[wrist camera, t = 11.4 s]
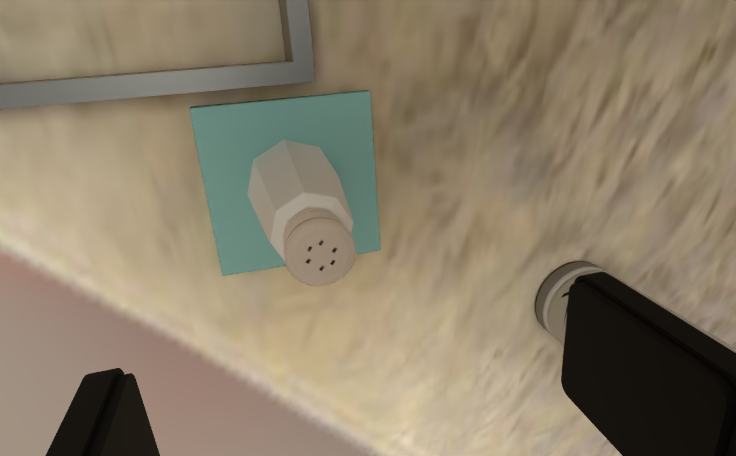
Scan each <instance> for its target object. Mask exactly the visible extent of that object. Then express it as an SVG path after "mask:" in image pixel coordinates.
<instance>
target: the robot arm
mask: <svg viewBox="0 0 736 456" xmlns="http://www.w3.org/2000/svg"><path fill="white" fill-rule="evenodd" d="M561 382H562V387H563V389H564V391H565V393H566V395H567V396H568V397H569V398H570V399H571V400H572V402H573V403H574V404H575V405H576V406H577V407H578V408H579V409H580V410H581V411H582V412H583V413H584V414H585V416H586V417H587V418H588V419H589V420H590V421H591V422H592V423H593V424H594V425H595V426H596V427H597V429H598V430H599V431H600V432H601V433H602V434H603V435H604V436H605V437H606V438H607V439H608V440H609V441H610V443H611V444H612V445H613V446H614V447H615V448H616V449H617V450H618V451H619V452H620V453H621V454H622V456H736V353H735V352H733V351H732V350H730V349H729V348H727V347H725V346H724V345H722V344H721V343H719V342H717V341H716V340H714V339H713V338H711V337H709V336H708V335H706V334H705V333H703V332H701V331H700V330H698V329H697V328H695V327H693V326H692V325H690V324H688V323H687V322H685V321H684V320H682V319H680V318H679V317H677V316H676V315H674V314H672V313H671V312H669V311H668V310H666V309H664V308H663V307H661V306H660V305H658V304H656V303H655V302H653V301H651V300H650V299H648V298H647V297H645V296H643V295H642V294H640V293H639V292H637V291H635V290H634V289H632V288H631V287H629V286H627V285H626V284H624V283H623V282H621V281H619V280H618V279H616V278H615V277H613V276H611V275H610V274H608V273H606V272H596V273H591V274H586V275H581V276H578V277H577V278H576V279H575V281H574V284H572V285H571V286H570V288H569V295H568V307H567V318H566V330H565V341H564V353H563V365H562V376H561ZM46 456H160V454H159V451H158V448H157V445H156V442H155V438H154V435H153V432H152V429H151V426H150V423H149V420H148V416H147V413H146V410H145V407H144V404H143V401H142V398H141V394H140V391H139V388H138V385H137V382H136V379H135V377H134V375H133V374H131V373H130V374H125V375H124V372H123V371H122V370H121V369H120V368H116V369H111V370H106V371H101V372H96V373H91V374H88V375H85V377H84V378H83V380H82V382H81V384H80V386H79V388H78V390H77V392H76V394H75V397H74V398H73V400H72V402H71V405H70V407H69V409H68V411H67V413H66V415H65V417H64V419H63V421H62V423H61V425H60V427H59V429H58V431H57V433H56V436H55V437H54V440H53V442H52V444H51V446H50V448H49V450H48V452H47V454H46Z"/></svg>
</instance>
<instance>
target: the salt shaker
mask: <svg viewBox="0 0 736 456" xmlns="http://www.w3.org/2000/svg"><path fill="white" fill-rule="evenodd" d="M247 195H248V197H249V199H250V202H251V204H252V206H253V208H254V210H255V213H256V215H257V217H258V219H259V221H260V223H261V226H262V228H263V230H264V232H265V234H266V236H267V238H268V240H269V241H270V243H271V244H272V246H273V247H274V248H275V250H276V251H277V252H278V253H279V255H280V256H281V257H282V259H283V260H284V261H285V264H286V266H287V269H288V271H289V272H290V273H291V274H292V276H293V277H294V278H296V279H297V280H298V281H300V282H302V283H305V284H307V285H313V286H322V285H328V284H331V283H333V282H336V281H337V280H339V279H340V278H342V277H343V276H344V275H345V274H346V273H347V272H348V271H349V270H350V268H351V266H352V264H353V262H354V259H355V255H356V245H355V242H354V239H353V236H352V235H351V231H352V226H353V219H352V215H351V212H350V209H349V206H348V203H347V200H346V197H345V194H344V191H343V188H342V185H341V182H340V179H339V176H338V174H337V173H336V171H335V170H334V168H333V167H332V165H331V164H330V162H329V161H328V159H327V158H326V156H325V155H324V153H323V152H322V150H321V148H320V147H318V146H313V145H308V144H303V143H298V142H294V141H289V140H282V141H281V142H279V143H278V144H276V145H275V146H273V147H272V148H270V149H269V150H267V151H266V152H264V153H263V154H261V155H260V156H258V157H257V158H255V159H254V160H253V164H252V170H251V176H250V182H249V187H248V193H247Z"/></svg>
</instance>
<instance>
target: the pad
mask: <svg viewBox="0 0 736 456" xmlns="http://www.w3.org/2000/svg"><path fill="white" fill-rule="evenodd" d="M189 110H190V115H191V120H192V125H193V130H194V135H195V140H196V145H197V150H198V155H199V160H200V165H201V170H202V175H203V180H204V185H205V191H206V196H207V201H208V206H209V211H210V216H211V221H212V226H213V231H214V236H215V241H216V246H217V251H218V256H219V261H220V266H221V271H222V276H225V275H232V274H238V273H244V272H250V271H256V270H262V269H268V268H274V267H280V266H286V264H285V261H284V260H283V259H282V257H281V256H280V255H279V253H278V252H277V251H276V250H275V248H274V247H273V246H272V244H271V243H270V241H269V240H268V238H267V236H266V234H265V232H264V230H263V228H262V226H261V223H260V221H259V219H258V217H257V215H256V213H255V210H254V208H253V206H252V204H251V202H250V199H249V197H248V195H247V193H248V187H249V182H250V176H251V170H252V164H253V160H254V159H255V158H257V157H258V156H260V155H261V154H263V153H264V152H266V151H267V150H269V149H270V148H272V147H273V146H275V145H276V144H278V143H279V142H281V141H282V140H289V141H294V142H298V143H303V144H308V145H313V146H318V147H320V148H321V150H322V152H323V153H324V155H325V156H326V158H327V159H328V161H329V162H330V164H331V165H332V167H333V168H334V170H335V171H336V173H337V174H338V176H339V179H340V182H341V185H342V188H343V191H344V194H345V197H346V200H347V203H348V206H349V209H350V212H351V215H352V219H353V226H352V231H351V235H352V236H353V239H354V242H355V245H356V254H359V253H365V252H372V251H378V250H380V235H379V220H378V205H377V189H376V174H375V159H374V144H373V129H372V113H371V98H370V91H367V90H366V91H355V92H344V93H334V94H323V95H313V96H302V97H291V98H281V99H270V100H260V101H249V102H238V103H228V104H217V105H207V106H196V107H190V108H189Z"/></svg>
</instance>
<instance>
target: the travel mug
mask: <svg viewBox="0 0 736 456" xmlns="http://www.w3.org/2000/svg"><path fill="white" fill-rule="evenodd" d="M596 272H606V271H605V270H603V269H601V268H600V267H598V266H596V265H594V264H592V263H589V262H574V263H570V264H567V265H565V266H563V267H561V268H559V269H558V270H556V271H555V272H554V273H553V274H552V275H550V276H549V278H548V279H547V280H546V281H545V282H544V284H543V286H542V287H541V289H540V291H539V294H538V296H537V301H536V314H537V318H538V320H539V322H540V324H541V325H542V326H543V327H544V328H545V329H546V330H547V331H548V332H549V333H550V334H551V335H553V336H554V337H555V338H556V339H557V340H558V341H559V342H560V343H561V344H562V345H564V341H565V330H566V318H567V307H568V295H569V288H570V286H571V285H572V284H574V281H575V279H576V278H577V277H578V276H581V275H586V274H591V273H596ZM606 273H608V272H606ZM608 274H609V273H608ZM610 275H611V274H610ZM611 276H613V275H611ZM613 277H615V276H613ZM615 278H616V277H615ZM616 279H618V278H616ZM618 280H619V281H621V280H620V279H618ZM621 282H623V281H621ZM623 283H624V284H626V283H625V282H623ZM626 285H627V286H629V287H631V286H630V285H628V284H626ZM631 288H632V289H634V290H635V291H637V292H639V293H640V294H642V295H643V296H645V297H647V298H648V299H650V300H651V301H653V302H655V303H656V304H658V305H660V306H661V307H663V308H664V309H666V310H668V311H669V312H671V313H672V314H674V315H676V316H677V317H679V318H680V319H682V320H684V321H685V322H687V323H688V324H690V325H692V326H693V327H695V328H697V329H698V330H700V331H701V332H703V333H705V334H706V335H708V336H709V337H711V338H713V339H714V340H716V341H717V342H719V343H721V344H722V345H724V346H725V347H727V348H729V349H730V350H732V351H733V352H735V353H736V349H735V348H734V347H732V346H730V345H729V344H727V343H725V342H724V341H722V340H720V339H719V338H717V337H715V336H714V335H712V334H710V333H709V332H707V331H705V330H704V329H702V328H700V327H698V326H697V325H695V324H693V323H692V322H690V321H688V320H687V319H685V318H683V317H682V316H680V315H678V314H677V313H675V312H673V311H672V310H670V309H668V308H667V307H665V306H663V305H662V304H660V303H658V302H657V301H655V300H653V299H652V298H650V297H648V296H647V295H645V294H643V293H642V292H640V291H638V290H637V289H635V288H633V287H631Z"/></svg>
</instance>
